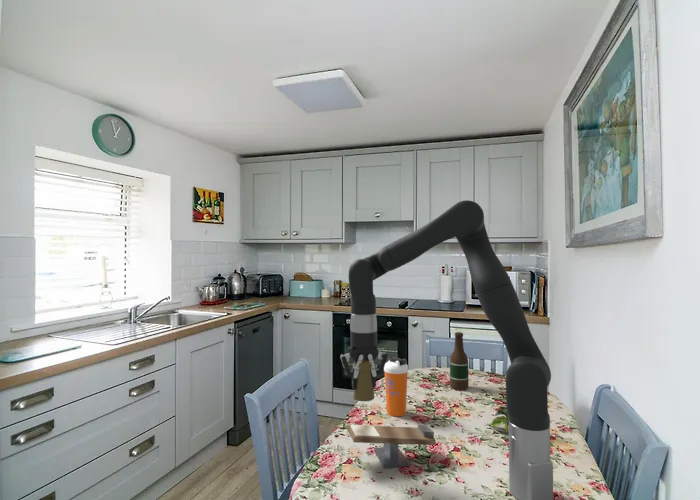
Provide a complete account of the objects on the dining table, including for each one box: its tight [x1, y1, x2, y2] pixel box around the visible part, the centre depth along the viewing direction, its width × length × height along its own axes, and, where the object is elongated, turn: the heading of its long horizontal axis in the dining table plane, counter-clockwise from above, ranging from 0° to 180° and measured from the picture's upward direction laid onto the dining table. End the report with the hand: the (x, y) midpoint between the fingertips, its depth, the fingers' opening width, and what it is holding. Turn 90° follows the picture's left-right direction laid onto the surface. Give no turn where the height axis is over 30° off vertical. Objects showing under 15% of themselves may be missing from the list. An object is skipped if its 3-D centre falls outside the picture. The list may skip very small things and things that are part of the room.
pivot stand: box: [373, 443, 410, 470], centre depth 116 cm, size 10×7×6 cm
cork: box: [353, 360, 375, 402], centre depth 114 cm, size 6×6×11 cm
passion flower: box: [490, 404, 509, 433], centre depth 133 cm, size 11×11×12 cm
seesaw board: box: [346, 424, 437, 446], centre depth 116 cm, size 24×8×3 cm, turn 103°
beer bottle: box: [449, 331, 469, 391], centre depth 176 cm, size 8×8×24 cm
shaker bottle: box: [383, 356, 409, 418], centre depth 149 cm, size 9×9×20 cm
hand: (364, 389), depth 114 cm, fingers closed on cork, 4 cm apart
